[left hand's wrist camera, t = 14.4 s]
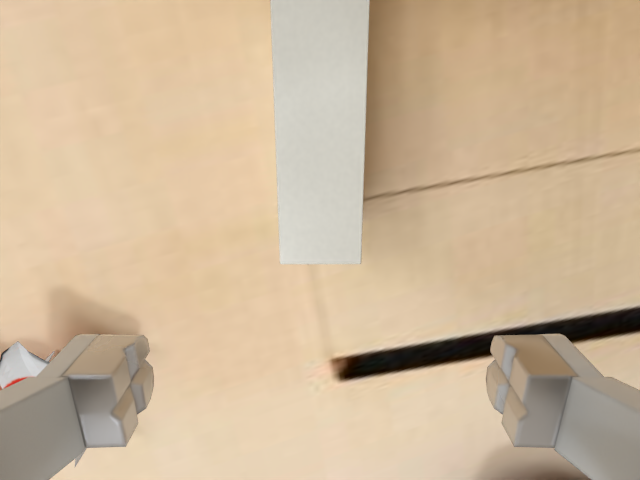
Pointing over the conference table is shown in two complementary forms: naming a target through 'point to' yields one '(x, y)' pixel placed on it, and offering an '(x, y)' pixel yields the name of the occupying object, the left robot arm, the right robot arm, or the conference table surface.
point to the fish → (21, 368)
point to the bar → (320, 127)
